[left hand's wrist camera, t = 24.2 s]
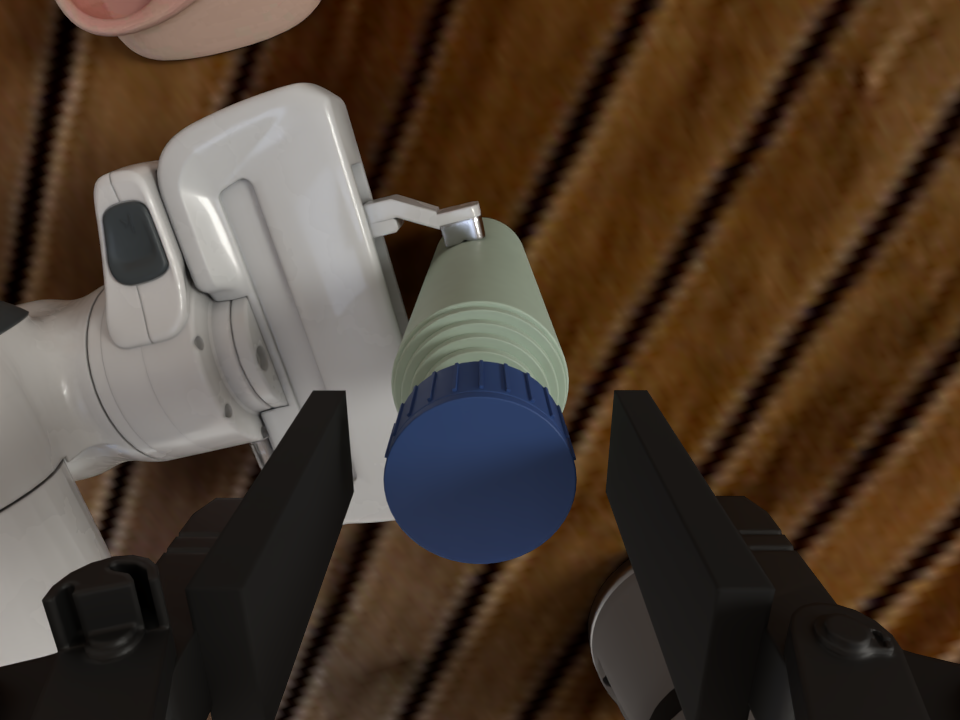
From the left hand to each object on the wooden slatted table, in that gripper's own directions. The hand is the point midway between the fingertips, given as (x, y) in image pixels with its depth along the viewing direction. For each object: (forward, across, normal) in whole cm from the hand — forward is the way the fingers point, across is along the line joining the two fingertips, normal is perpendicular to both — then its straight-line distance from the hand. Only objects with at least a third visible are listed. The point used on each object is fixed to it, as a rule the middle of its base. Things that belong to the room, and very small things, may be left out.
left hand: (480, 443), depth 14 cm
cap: (-2, 0, 0) cm, 2 cm away
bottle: (+21, 0, 0) cm, 21 cm away
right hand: (+14, -1, 0) cm, 14 cm away
